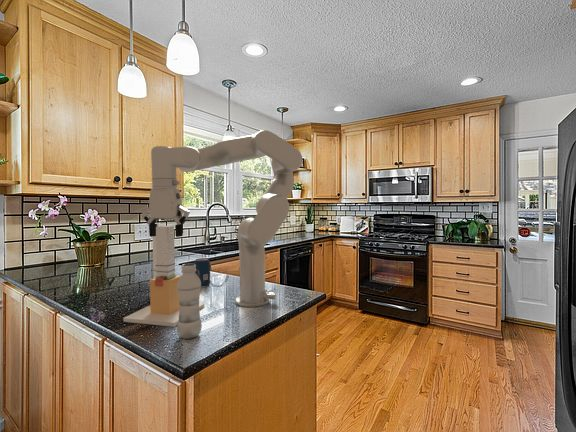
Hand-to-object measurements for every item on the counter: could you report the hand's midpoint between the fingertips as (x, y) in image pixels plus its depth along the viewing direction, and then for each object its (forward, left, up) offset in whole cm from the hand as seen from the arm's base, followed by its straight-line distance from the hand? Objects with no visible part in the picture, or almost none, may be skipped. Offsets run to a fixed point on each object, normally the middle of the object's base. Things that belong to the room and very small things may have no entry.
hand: (166, 236), depth 100 cm
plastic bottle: (-17, +14, -26) cm, 34 cm away
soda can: (+6, -35, -26) cm, 44 cm away
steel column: (0, 0, -19) cm, 19 cm away
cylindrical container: (+14, -18, -26) cm, 35 cm away
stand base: (0, 0, -26) cm, 26 cm away
